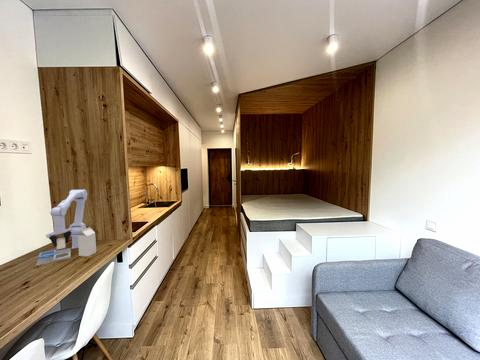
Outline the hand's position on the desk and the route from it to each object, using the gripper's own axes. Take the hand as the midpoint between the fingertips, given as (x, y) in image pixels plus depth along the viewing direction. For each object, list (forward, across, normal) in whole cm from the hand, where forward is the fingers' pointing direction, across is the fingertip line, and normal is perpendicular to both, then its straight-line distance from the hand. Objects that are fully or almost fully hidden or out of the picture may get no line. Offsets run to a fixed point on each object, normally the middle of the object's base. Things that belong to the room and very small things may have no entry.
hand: (60, 244), depth 142 cm
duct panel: (+9, +1, -6) cm, 11 cm away
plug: (+2, 0, 0) cm, 2 cm away
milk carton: (+10, -9, +12) cm, 18 cm away
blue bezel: (+9, +2, -12) cm, 16 cm away
